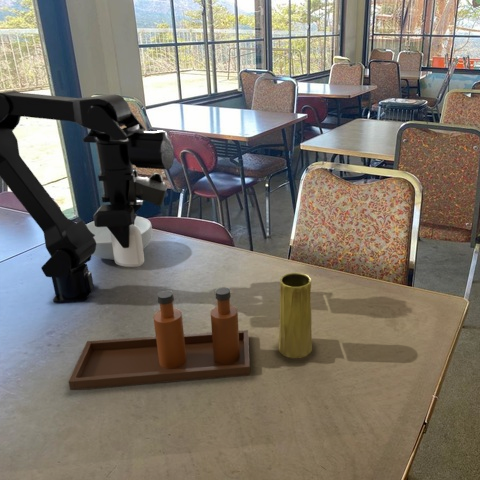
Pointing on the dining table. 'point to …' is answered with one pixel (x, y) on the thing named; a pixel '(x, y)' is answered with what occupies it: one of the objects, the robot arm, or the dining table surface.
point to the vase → (295, 315)
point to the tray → (152, 362)
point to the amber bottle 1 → (169, 332)
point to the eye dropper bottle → (129, 249)
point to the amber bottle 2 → (225, 328)
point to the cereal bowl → (105, 242)
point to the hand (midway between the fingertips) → (128, 243)
